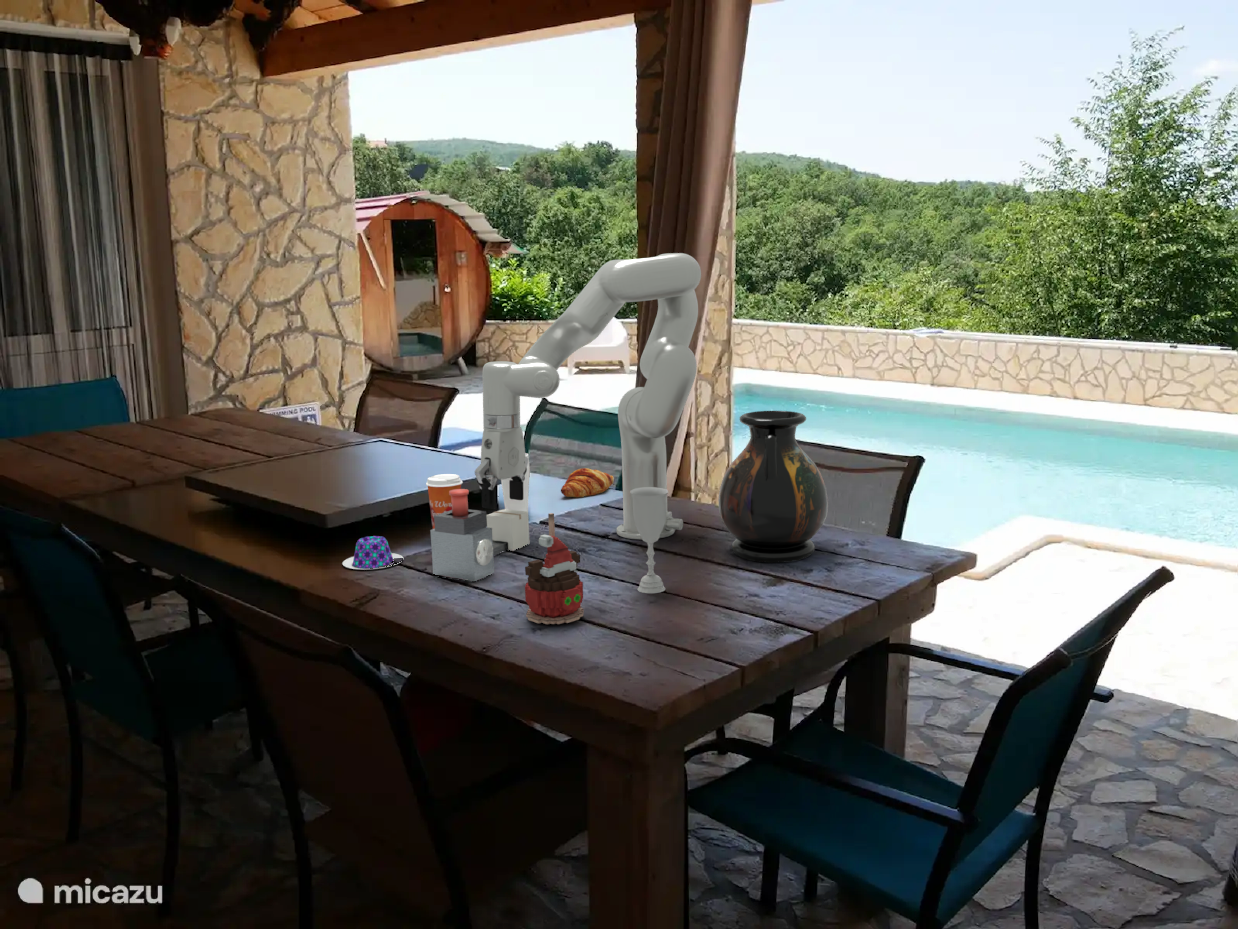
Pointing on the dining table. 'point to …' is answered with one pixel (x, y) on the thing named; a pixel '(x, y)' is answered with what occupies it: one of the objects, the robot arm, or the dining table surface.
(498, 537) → the white taped box
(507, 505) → the drinking glass
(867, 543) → the dining table surface
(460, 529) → the cabinet
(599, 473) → the croissant
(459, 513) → the button
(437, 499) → the paper cup
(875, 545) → the dining table surface
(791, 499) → the black painted vase
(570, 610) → the christmas candy apple
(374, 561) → the purple patterned hat
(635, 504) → the chalice
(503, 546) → the rail
